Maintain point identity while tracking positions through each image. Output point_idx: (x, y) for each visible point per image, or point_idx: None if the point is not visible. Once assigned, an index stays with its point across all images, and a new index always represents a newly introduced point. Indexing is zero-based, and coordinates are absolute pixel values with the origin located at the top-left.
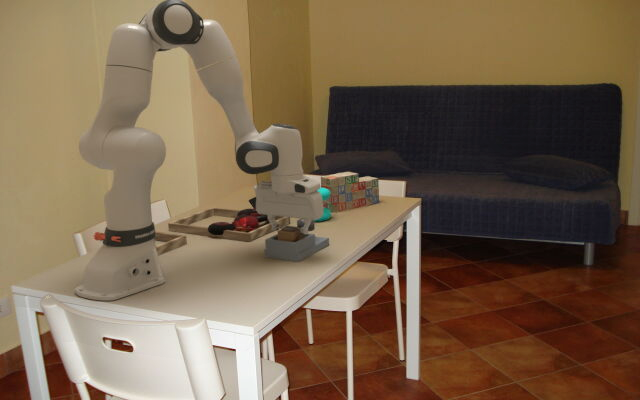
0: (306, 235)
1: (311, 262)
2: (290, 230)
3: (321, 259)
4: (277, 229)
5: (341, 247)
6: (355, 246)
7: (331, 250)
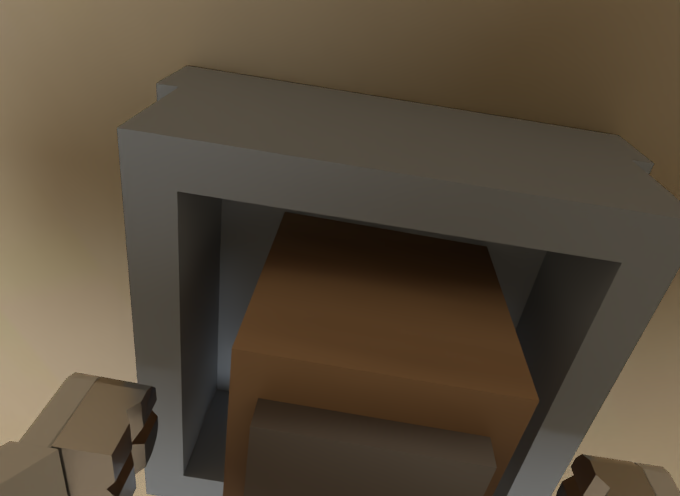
0: None
1: (56, 84)
2: (308, 421)
3: (31, 190)
4: (577, 488)
5: None
6: None
7: None
